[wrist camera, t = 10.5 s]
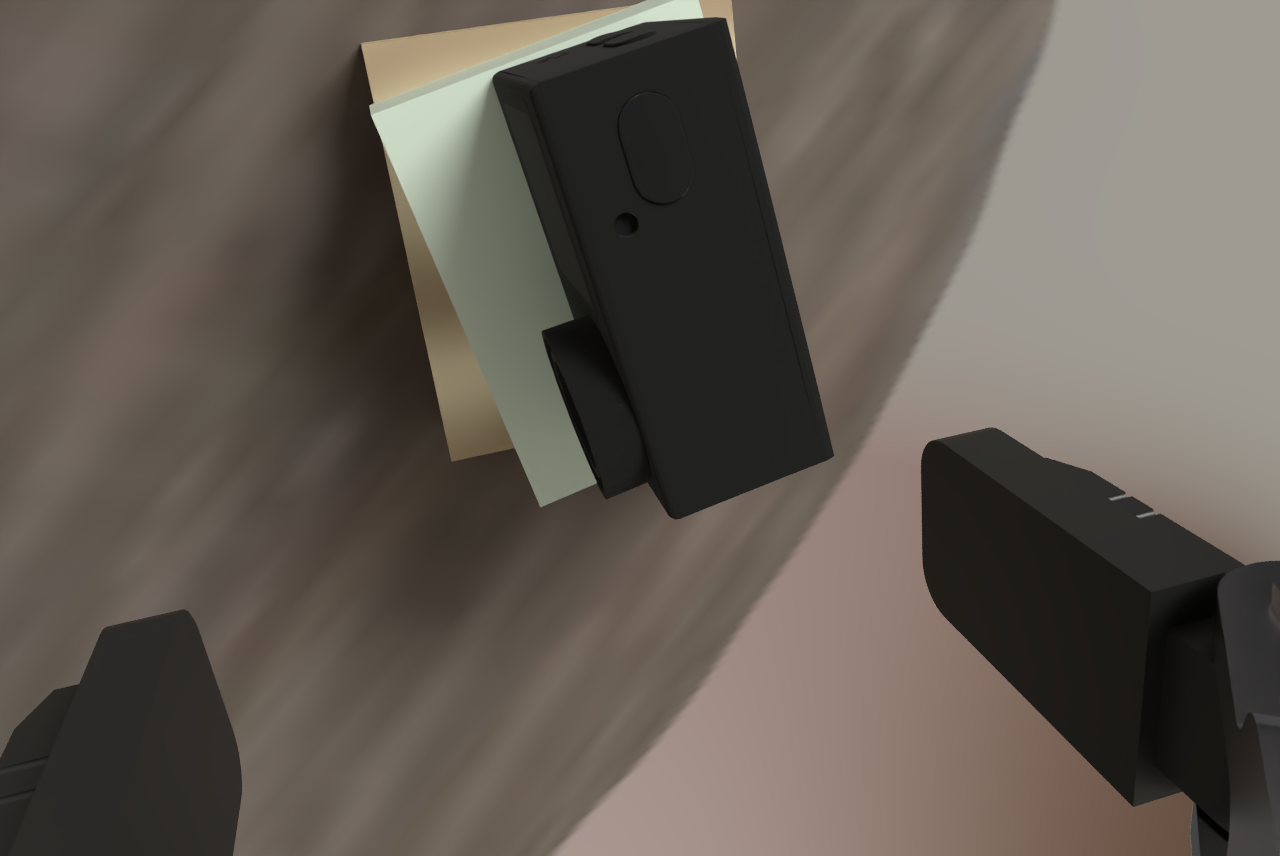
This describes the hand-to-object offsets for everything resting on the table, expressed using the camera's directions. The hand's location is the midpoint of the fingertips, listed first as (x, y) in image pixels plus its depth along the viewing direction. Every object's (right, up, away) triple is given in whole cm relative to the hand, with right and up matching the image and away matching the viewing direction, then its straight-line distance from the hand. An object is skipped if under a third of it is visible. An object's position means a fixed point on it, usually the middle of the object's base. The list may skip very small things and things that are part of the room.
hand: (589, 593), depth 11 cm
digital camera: (0, +7, +18) cm, 19 cm away
